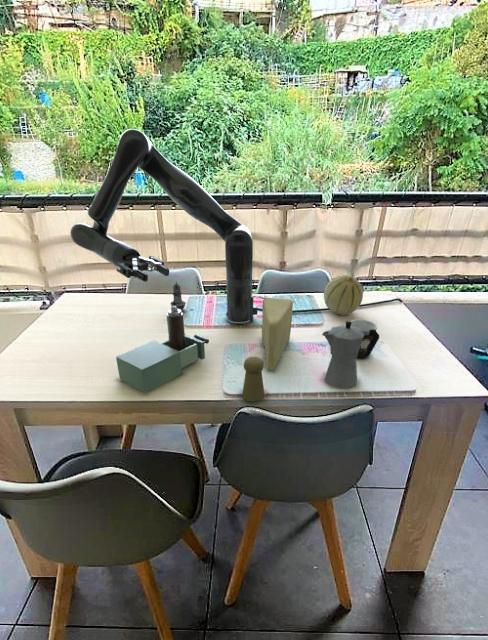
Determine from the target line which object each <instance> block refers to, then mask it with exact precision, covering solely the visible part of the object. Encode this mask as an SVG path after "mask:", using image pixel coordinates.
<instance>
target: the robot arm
mask: <svg viewBox="0 0 488 640" xmlns="http://www.w3.org/2000/svg"><path fill="white" fill-rule="evenodd" d="M137 169H140V170H141V171H142V172H144V173H145V174H146V175H148V176H149V177H150V178H152V180H154V182H156V183H157V184H158V186H160V187H161V189H162V191H164V193H166V194H167V196H168V197H169V198H170V199H171V200H172V201H173V202H174V203H175V204H176V205H178V207H180V208H181V210H183V211H184V212H185V213H186V214H188V215H189V216H190V217H192V218H194V219H195V220H197V221H198V222H200V223H201V224H203V225H205V226H207V227H209V228H210V229H211V230H213V231H214V232H215V233H216V234H217V235H218V236H219V237H220V238H221V239H222V240H223V241H224V253H225V256H224V257H225V273H226V275H225V279H226V286H225V287H226V313H225V317H226V321H227V322H228V323H230V324H234V325H247V324H249V323H253V322H254V316H257V315H258V311H259V312H262V310H263V308H260V307H258V306H257V305H256V304H255V302H254V296H253V267H254V263H253V262H254V240H253V239H254V238H253V234H252V232H251V230H250V229H249V228H248V227H247V226H246V225H244V224H243V223H241V222H240V221H238V220H237V219H236V218H235V217H233V216H232V215H230V214H229V213H228V212H227V211H226V210H224V208H223V207H222V206H221V205H220V204H219V203H218V202H217V201H216V200H215V199H214V198H213V197H212V196H211V194H210V193H208V191H206V190H205V189H204V188H203V187H202V185H200V184H199V183H197V181H196V180H194V179H193V177H191V176H190V175H188V174H187V173H186V172H184V171H183V170H181V169H180V168H179V167H177V166H176V165H175V164H173V163H171V162H170V161H169V160H168V159H167V158H166V157H165V156H164V155H163V154H162V153H161V152H160V151H159V150H158V148H156V147H155V145H154V144H153V143H152V142H151V141H150V139H149V138H148V137H147V136H146V134H145V133H144V132H143V131H141V130H139V129H135V128H129V129H127V130H125V131H124V132H123V133H122V134H121V135H120V137H119V141H118V144H117V148H116V151H115V154H114V157H113V159H112V162H111V165H110V167H109V169H108V172H107V174H106V176H105V177H104V179H103V181H102V183H101V185H100V187H99V188H98V190H97V193H96V194H95V196H94V198H93V200H92V202H91V204H90V206H89V208H88V210H87V215H88V217H89V218H90V219H91V220H93V224H92V226H90V225H89V224H86V223H83V222H78V223H75V224H74V225H72V227H71V229H70V232H69V234H70V238H71V240H72V242H73V243H74V244H75V245H77V246H78V247H80V248H83V249H85V250H87V251H90V252H92V253H93V254H96V255H97V256H99V257H100V258H101V259H103V260H105V261H107V262H108V263H110V264H111V265H113V266H114V267H116V272H117V273H119V274H120V275H122V276H124V277H125V278H127V279H131V278H132V277H133V278H135V279H136V278H137V279H139V280H140V281H143V282H144V283H146V282H148V279H149V275H148V274H147V273H146V272H151V273H152V272H157V273H159V274H161V275H162V276H165V277H169V275H170V269H169V268H168V267H166V266H165V261H164V260H162V259H160V258H158V257H155V256H153V255H151V254H150V255H148V258H146V257H144V256H141V254H140V252H139V251H138V250H137V249H136V248H134V247H132V246H130V245H129V244H126V243H125V242H123V241H120V240H118V239H116V238H114V237H111V236H110V235H107V234H108V230H109V225H110V221H111V220H112V218H113V216H114V214H115V213H116V210H117V209H118V207H119V204H120V202H121V200H122V197H123V195H124V193H125V190H126V187H127V185H128V183H129V181H130V179H131V177H132V176H133V174H134V172H135V171H136V170H137ZM149 266H150V267H149ZM396 301H397V302H400V303H403V300H402V299H401V298H397V297H396V298H392V299H387V300H386V299H385V300H381V301H375V302H370V303H368V302H367V303H363V304H362V303H361V304H360V306H359V307H358V308H363V307H370V306H374V305H375V306H376V305H381V304H386V303H393V302H396ZM326 311H331V310H330V309H329V308H328V307H325V308H311V309H295V310H292V314H295V313H311V312H326Z"/></svg>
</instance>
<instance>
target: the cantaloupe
mask: <svg viewBox="0 0 488 640" xmlns="http://www.w3.org/2000/svg"><path fill="white" fill-rule="evenodd" d="M363 298H364V288H363V286H362V283H361V282H360V281H359V280H358V279H357V278H355V277H354V276H352V275H348V274H342V275H337V276H334V277H333V278H332V279H330V281H329V282H328V283H327V284H326V286H325V288H324V292H323V301H324V304H325V305H326V308H329V309H330V310H329V311H331V312H332V313H334V314H337V315H341V316H343V315H349V314H352V313H353V312H355V311H356V310H357V309H358V308H360V307H359V306H360V305H361V304H362V301H363Z"/></svg>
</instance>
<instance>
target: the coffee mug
mask: <svg viewBox="0 0 488 640" xmlns="http://www.w3.org/2000/svg"><path fill="white" fill-rule="evenodd" d="M350 322H352V324H351V326H354V327H357V328H359V329H361V330H362V329H368V330H371V329H374V330H376V331H377V328H378V325H377V324H376V323H375V322H373V321H370V320H366V319H352V320H350ZM372 338H373V336H369V337H363V340H362V343H361V346H360V349H359V352H358V355H357V358H356V360H364V359H367V358H368V357H362V356H361V354H365V353H366V352H367V348H368V346H369V345H370V342H371V340H372Z"/></svg>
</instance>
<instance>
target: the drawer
mask: <svg viewBox="0 0 488 640" xmlns="http://www.w3.org/2000/svg"><path fill="white" fill-rule="evenodd" d="M160 343H161V344H163V345H166V346H168V347H169V339H166V340H164V341H162V342H160ZM209 343H210V339H209V338H207V337H203V336H201V335H199V334H194V335H193V336H191V335H188V334H187V333H185V344H186V348H185V349H183V350H181V351H179V352H180V357H181V368H182V369H183V368H185V367H187V366H188V365H191V364H193V363H195V362H196V361H198V360H205V359H206V348H205V344H207V345H208V344H209Z"/></svg>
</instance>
